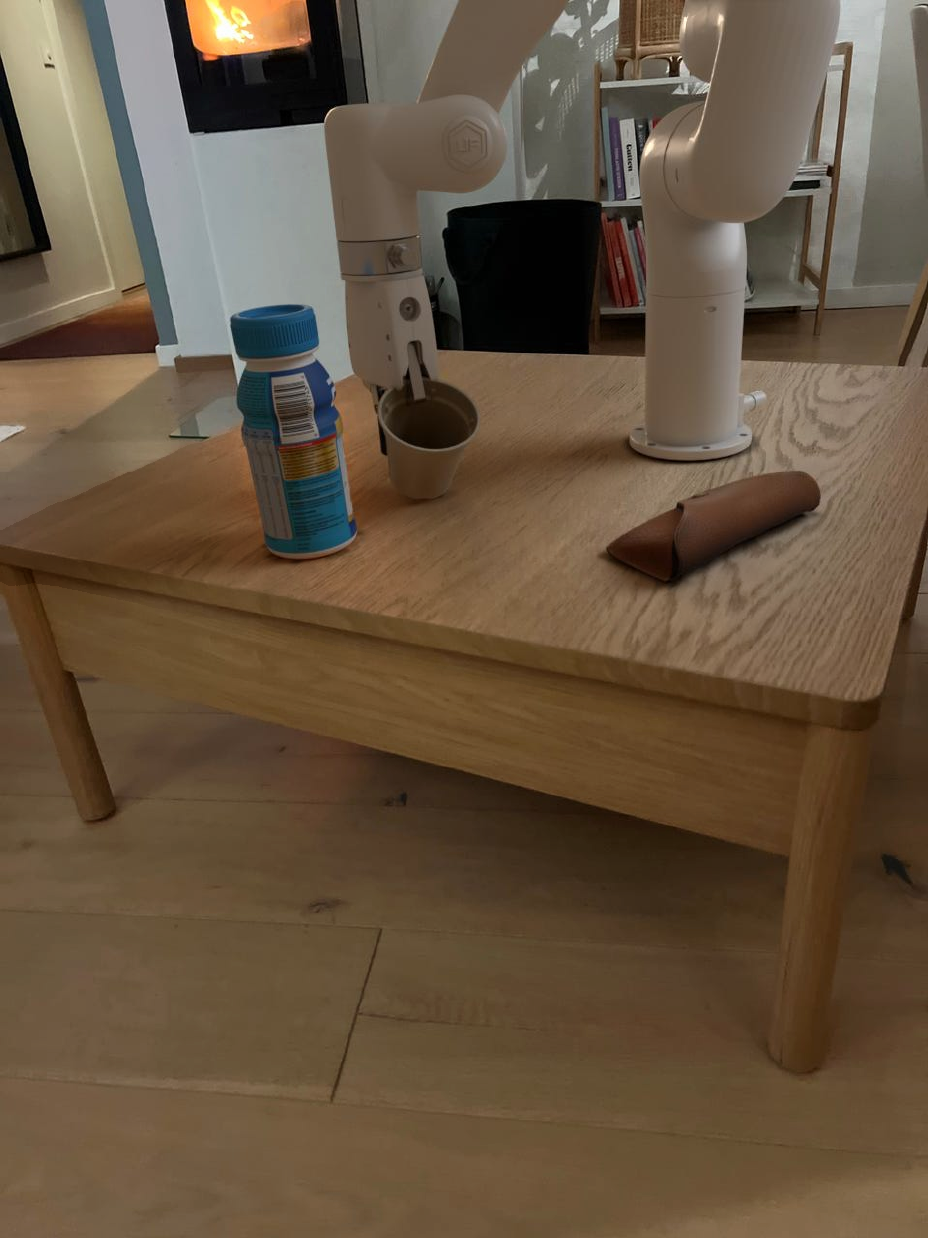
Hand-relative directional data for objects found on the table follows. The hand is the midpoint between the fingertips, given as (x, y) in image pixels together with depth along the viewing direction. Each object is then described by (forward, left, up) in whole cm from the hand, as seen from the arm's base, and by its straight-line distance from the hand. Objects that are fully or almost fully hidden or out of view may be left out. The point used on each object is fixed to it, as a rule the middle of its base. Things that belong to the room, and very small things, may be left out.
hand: (398, 453), depth 91 cm
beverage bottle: (+14, +7, -4) cm, 16 cm away
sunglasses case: (-12, +31, -4) cm, 33 cm away
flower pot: (0, +4, -2) cm, 4 cm away
